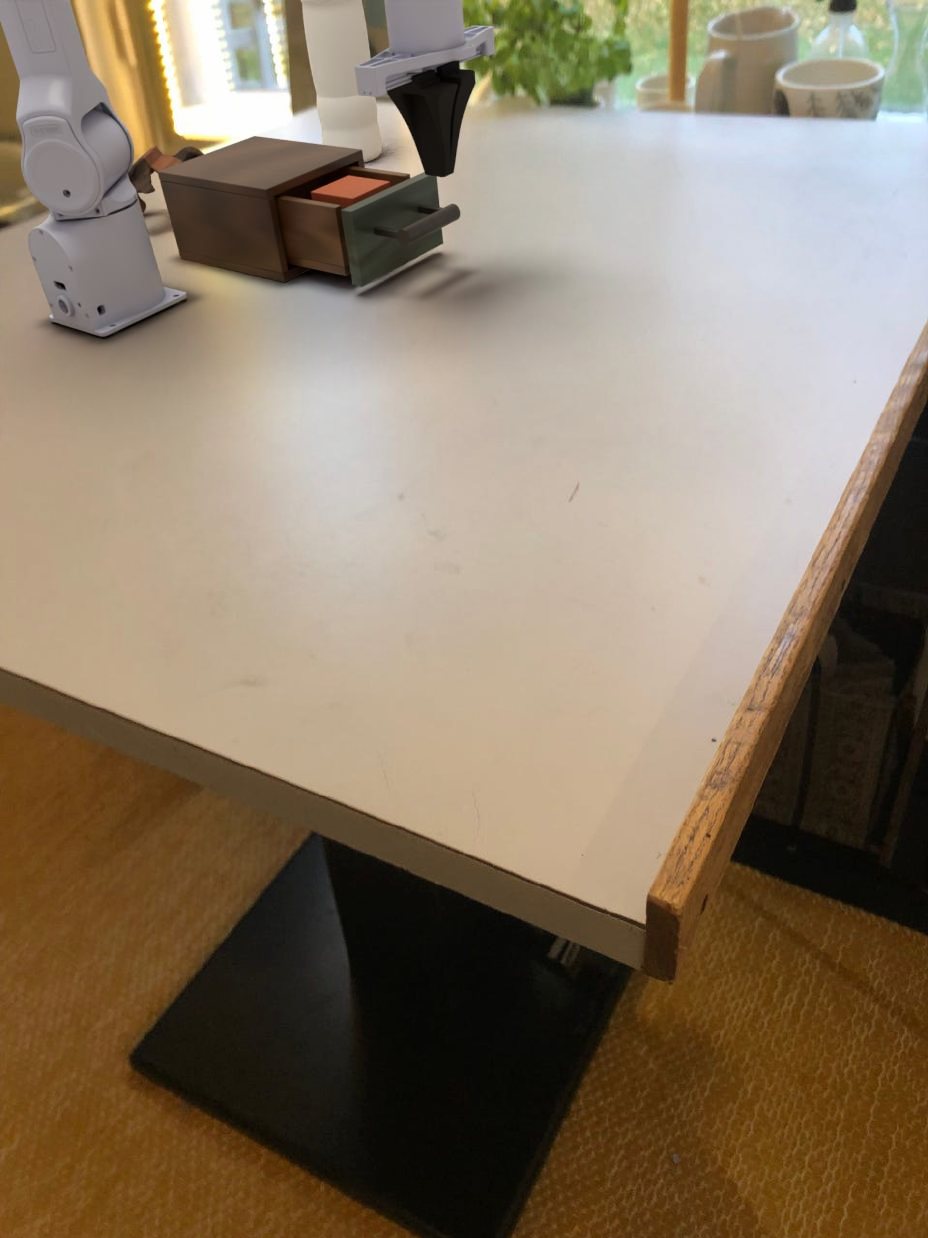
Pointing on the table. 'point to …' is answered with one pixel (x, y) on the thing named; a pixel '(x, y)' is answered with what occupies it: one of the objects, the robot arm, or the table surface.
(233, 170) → the cabinet
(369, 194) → the block
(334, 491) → the table surface
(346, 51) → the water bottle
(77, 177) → the robot arm
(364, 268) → the drawer
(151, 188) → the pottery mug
